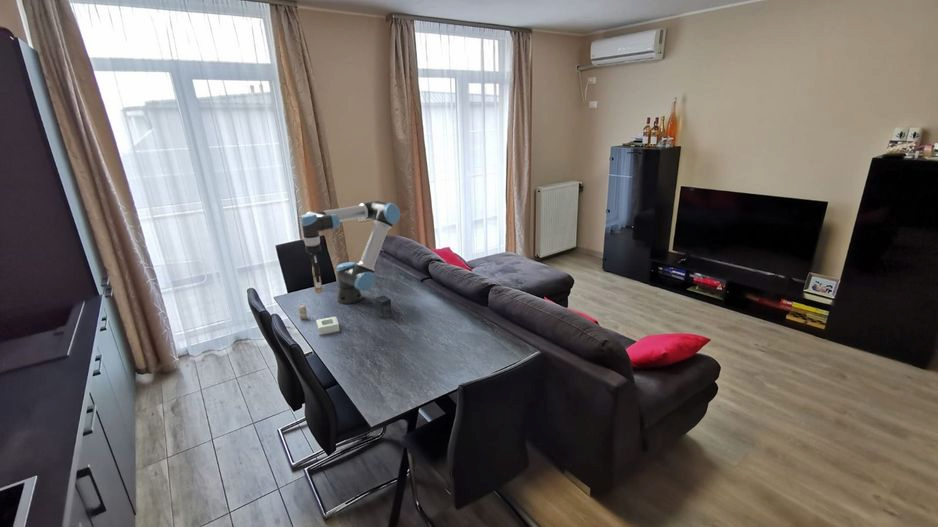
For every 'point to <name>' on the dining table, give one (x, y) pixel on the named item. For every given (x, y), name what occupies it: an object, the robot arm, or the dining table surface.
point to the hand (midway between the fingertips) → (318, 286)
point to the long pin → (317, 290)
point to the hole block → (327, 325)
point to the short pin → (302, 312)
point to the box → (383, 307)
